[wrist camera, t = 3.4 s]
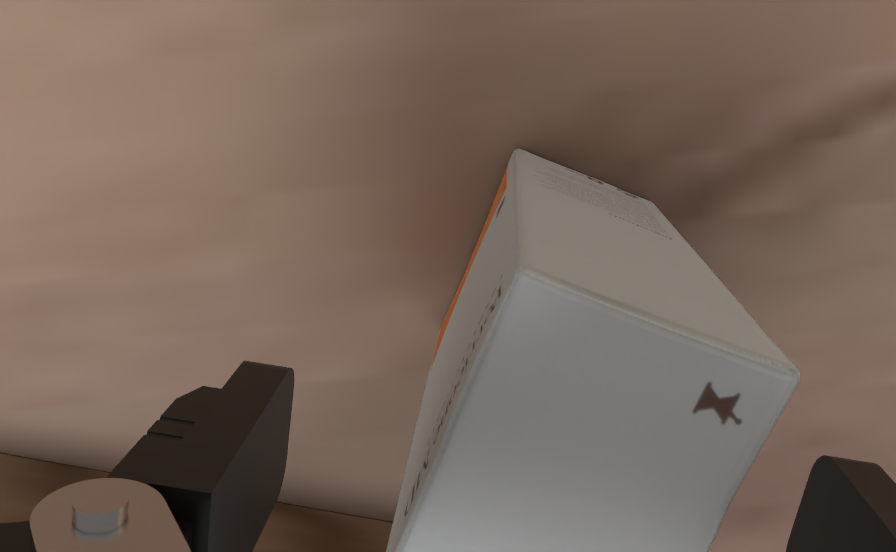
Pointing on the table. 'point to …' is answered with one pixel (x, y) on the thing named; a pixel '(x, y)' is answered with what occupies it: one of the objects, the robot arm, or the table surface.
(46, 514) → the robot arm
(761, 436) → the skincare box
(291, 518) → the walnut stand
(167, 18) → the table surface
